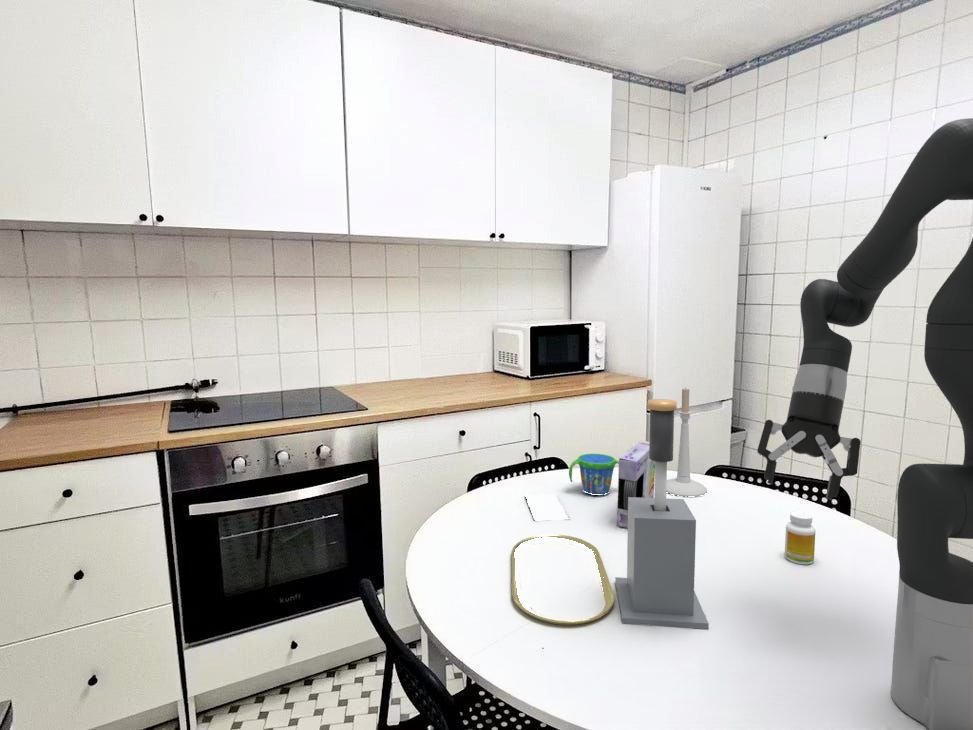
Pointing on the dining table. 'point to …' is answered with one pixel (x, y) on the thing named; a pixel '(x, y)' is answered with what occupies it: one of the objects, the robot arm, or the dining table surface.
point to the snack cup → (595, 472)
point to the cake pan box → (634, 479)
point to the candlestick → (684, 458)
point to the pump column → (660, 567)
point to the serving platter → (605, 581)
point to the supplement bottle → (800, 539)
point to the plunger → (661, 445)
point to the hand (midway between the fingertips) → (798, 491)
